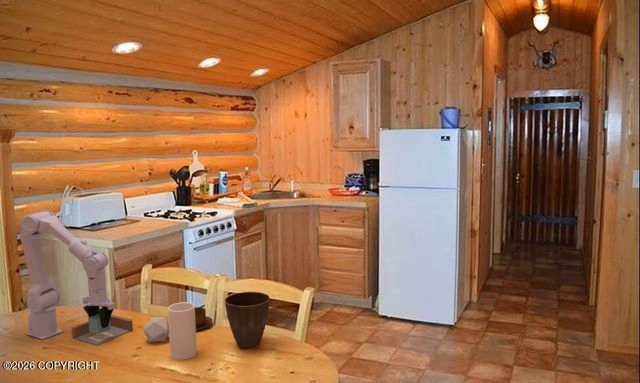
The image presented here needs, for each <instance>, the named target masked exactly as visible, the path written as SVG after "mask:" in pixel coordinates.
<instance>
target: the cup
mask: <svg viewBox="0 0 640 383" xmlns="http://www.w3.org/2000/svg"><path fill="white" fill-rule="evenodd" d="M195 305H196V304H194V303H193V302H187V301H183V302H177V303H172V304H170V305H169V306H168V308H167V310H168V312H167V313H168V314H167V315H168V323H169V334H168V336H169V350H170V351H169V352H170V354H169V355H170V358H171V359H173V360H177V361H182V360H189V359H191V358H194V357H195V356H196V355H197V354H198V351H197V330H196V324H195Z"/></svg>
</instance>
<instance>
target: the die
mask: <svg viewBox="0 0 640 383" xmlns="http://www.w3.org/2000/svg"><path fill="white" fill-rule="evenodd" d="M142 332H143V333H144V335H145V336H146V339H147V341H148V342H149V343H165V341H166V340H167V337H168V336H169V320H167V317H165V316H163V317H160V316H158V317H150V319H148V321H147V323H146V324H145V326H144V328H143V330H142Z"/></svg>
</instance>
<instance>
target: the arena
mask: <svg viewBox="0 0 640 383" xmlns="http://www.w3.org/2000/svg"><path fill="white" fill-rule="evenodd" d="M110 324H111V329H110V330H107V331H105V332H102V333H100V334H96V333H93V332H89V323H88V320H87V321H85V322H83V323H80V324H77V325H75V326H72V327H71V332H72V333H71V334H72V339H74V340H77V341H80V342H84V343H87V344H90V345H94V346H99V345H102V344H104V343H107V342H108V341H111V340H114V339H115V338H118V337H121V336H123V335H125V334H127V333H130V332H132V331H133V330H134V329H133V327H134V326H133V319H131V318H127V317H124V316H118V315H115V314H111V317H110Z"/></svg>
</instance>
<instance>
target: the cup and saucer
mask: <svg viewBox="0 0 640 383" xmlns="http://www.w3.org/2000/svg"><path fill="white" fill-rule="evenodd" d="M206 311H207V310H206V308H205V307H197V306H196V307H195V324H196V331H201V330H204V329H206V328H208V327H210V326H211V325H212V323H213V319H212V318H211V317H210V316H207V315H206Z"/></svg>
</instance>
